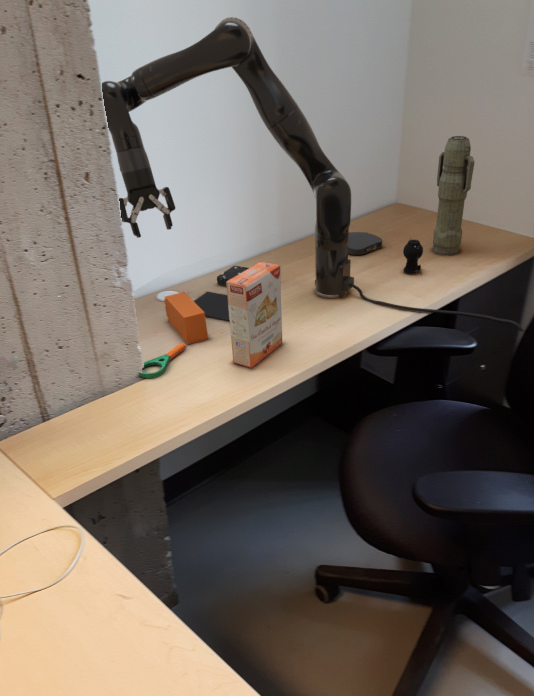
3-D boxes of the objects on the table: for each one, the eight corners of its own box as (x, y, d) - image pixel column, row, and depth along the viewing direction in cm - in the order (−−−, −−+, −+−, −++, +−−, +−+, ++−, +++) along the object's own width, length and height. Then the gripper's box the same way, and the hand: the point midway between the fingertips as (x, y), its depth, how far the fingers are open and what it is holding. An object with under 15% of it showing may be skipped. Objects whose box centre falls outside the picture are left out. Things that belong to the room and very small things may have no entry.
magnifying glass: (152, 380, 136) (151, 374, 135) (133, 374, 139) (131, 368, 138) (193, 351, 147) (192, 345, 146) (174, 346, 150) (173, 340, 149)
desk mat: (266, 303, 168) (266, 302, 168) (241, 324, 158) (241, 322, 158) (207, 292, 176) (207, 291, 176) (180, 311, 166) (180, 310, 166)
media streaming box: (356, 236, 212) (356, 228, 210) (386, 246, 203) (387, 237, 201) (326, 247, 204) (326, 238, 203) (357, 257, 195) (357, 249, 193)
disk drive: (217, 285, 181) (259, 292, 175) (215, 277, 179) (258, 283, 173) (234, 273, 188) (275, 279, 182) (233, 265, 187) (275, 270, 181)
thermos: (455, 258, 191) (469, 142, 171) (423, 250, 198) (434, 138, 178) (468, 250, 196) (484, 137, 177) (437, 243, 203) (449, 133, 184)
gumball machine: (425, 274, 181) (428, 243, 175) (407, 277, 180) (409, 245, 174) (416, 267, 186) (418, 235, 181) (398, 269, 185) (400, 238, 180)
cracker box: (253, 369, 139) (246, 285, 127) (232, 363, 141) (223, 281, 130) (284, 344, 148) (281, 264, 137) (264, 338, 151) (259, 259, 139)
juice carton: (166, 318, 163) (161, 293, 159) (185, 314, 165) (181, 288, 161) (187, 344, 150) (184, 317, 146) (208, 339, 152) (204, 312, 148)
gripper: (112, 174, 145) (132, 240, 151) (166, 161, 150) (183, 226, 156) (105, 176, 151) (125, 239, 157) (157, 164, 156) (174, 226, 163)
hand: (154, 233), depth 157 cm, fingers open, 8 cm apart
